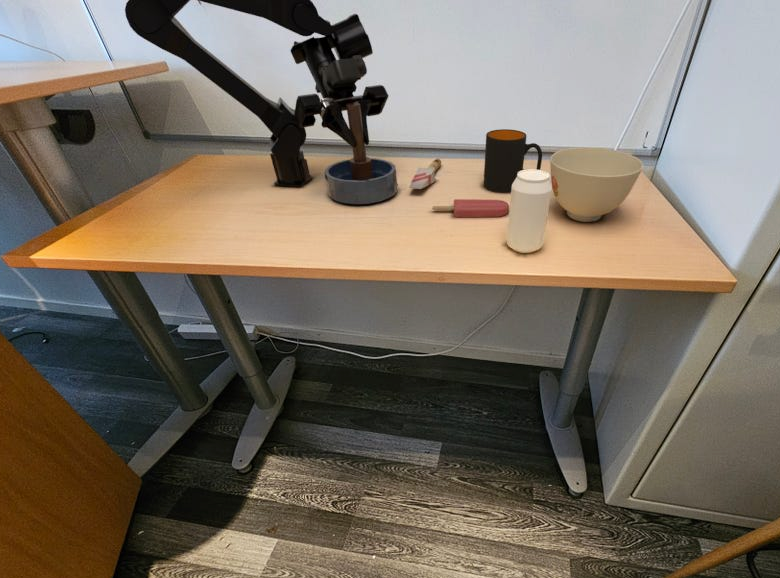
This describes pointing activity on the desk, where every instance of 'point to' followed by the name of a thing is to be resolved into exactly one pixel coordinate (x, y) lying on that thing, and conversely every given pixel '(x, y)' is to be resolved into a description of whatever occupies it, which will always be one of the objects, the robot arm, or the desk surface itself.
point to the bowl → (592, 180)
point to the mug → (505, 158)
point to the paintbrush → (425, 175)
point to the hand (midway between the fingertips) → (361, 145)
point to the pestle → (358, 145)
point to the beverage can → (528, 210)
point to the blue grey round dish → (361, 183)
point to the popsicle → (476, 208)
